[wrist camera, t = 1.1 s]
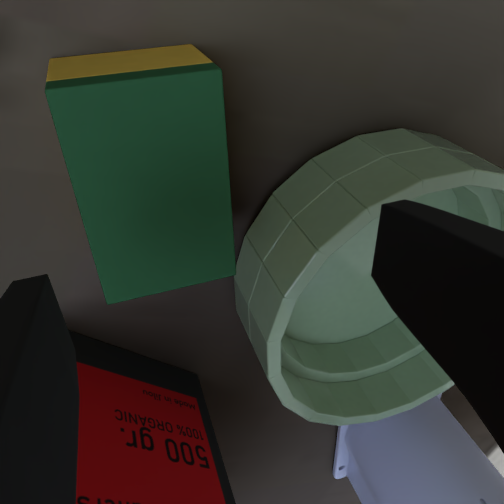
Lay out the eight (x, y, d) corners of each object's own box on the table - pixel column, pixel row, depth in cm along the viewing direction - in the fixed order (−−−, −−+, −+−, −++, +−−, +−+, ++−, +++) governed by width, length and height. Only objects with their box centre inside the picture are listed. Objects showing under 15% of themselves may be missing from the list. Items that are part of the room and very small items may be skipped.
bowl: (440, 318, 28) (500, 379, 24) (238, 377, 25) (269, 458, 21) (499, 105, 21) (600, 144, 17) (219, 151, 17) (263, 212, 14)
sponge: (210, 223, 19) (236, 275, 16) (100, 245, 18) (107, 305, 15) (191, 43, 15) (222, 68, 12) (48, 58, 14) (43, 89, 11)
